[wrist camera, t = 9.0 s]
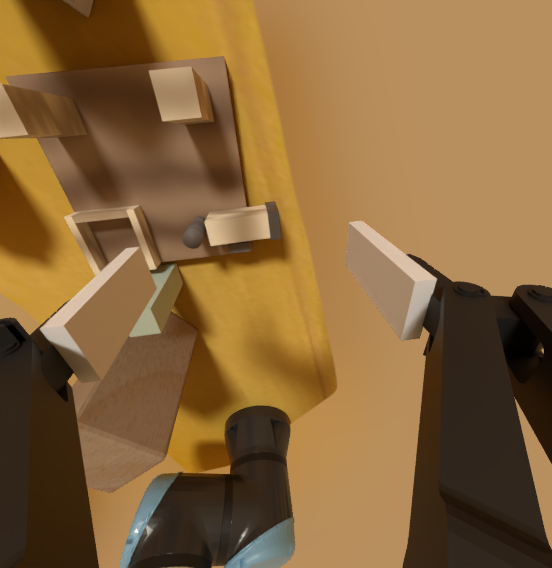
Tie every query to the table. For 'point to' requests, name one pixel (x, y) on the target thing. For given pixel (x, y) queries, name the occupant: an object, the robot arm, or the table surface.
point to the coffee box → (81, 6)
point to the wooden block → (133, 406)
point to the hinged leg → (243, 224)
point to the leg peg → (159, 300)
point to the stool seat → (135, 153)
